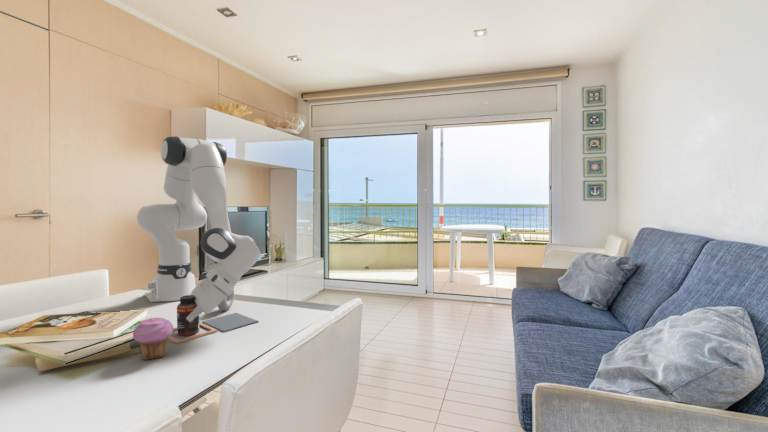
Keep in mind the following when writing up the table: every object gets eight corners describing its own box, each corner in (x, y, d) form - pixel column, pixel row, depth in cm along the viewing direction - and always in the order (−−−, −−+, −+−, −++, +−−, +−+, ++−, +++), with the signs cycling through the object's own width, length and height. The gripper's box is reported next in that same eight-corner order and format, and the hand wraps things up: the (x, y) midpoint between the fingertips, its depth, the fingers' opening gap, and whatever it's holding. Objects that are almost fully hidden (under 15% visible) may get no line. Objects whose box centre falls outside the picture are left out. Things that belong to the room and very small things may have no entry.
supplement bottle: (203, 329, 113) (203, 294, 112) (191, 337, 107) (190, 299, 106) (185, 329, 113) (185, 293, 113) (172, 336, 107) (172, 298, 107)
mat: (202, 322, 119) (202, 321, 119) (235, 313, 129) (235, 312, 129) (224, 332, 111) (224, 331, 111) (258, 322, 120) (258, 320, 120)
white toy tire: (224, 314, 128) (223, 286, 127) (214, 314, 128) (214, 286, 128) (236, 306, 138) (236, 280, 137) (227, 306, 138) (227, 280, 138)
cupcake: (131, 366, 88) (130, 326, 87) (135, 353, 95) (134, 316, 95) (174, 358, 92) (173, 320, 92) (173, 346, 100) (173, 311, 99)
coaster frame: (158, 333, 109) (158, 332, 109) (199, 323, 118) (199, 321, 118) (176, 343, 102) (176, 341, 102) (217, 331, 111) (217, 329, 111)
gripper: (207, 268, 122) (174, 301, 117) (218, 280, 105) (180, 319, 100) (221, 280, 124) (190, 312, 119) (234, 292, 108) (198, 331, 102)
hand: (186, 315), depth 109 cm, fingers open, 8 cm apart
